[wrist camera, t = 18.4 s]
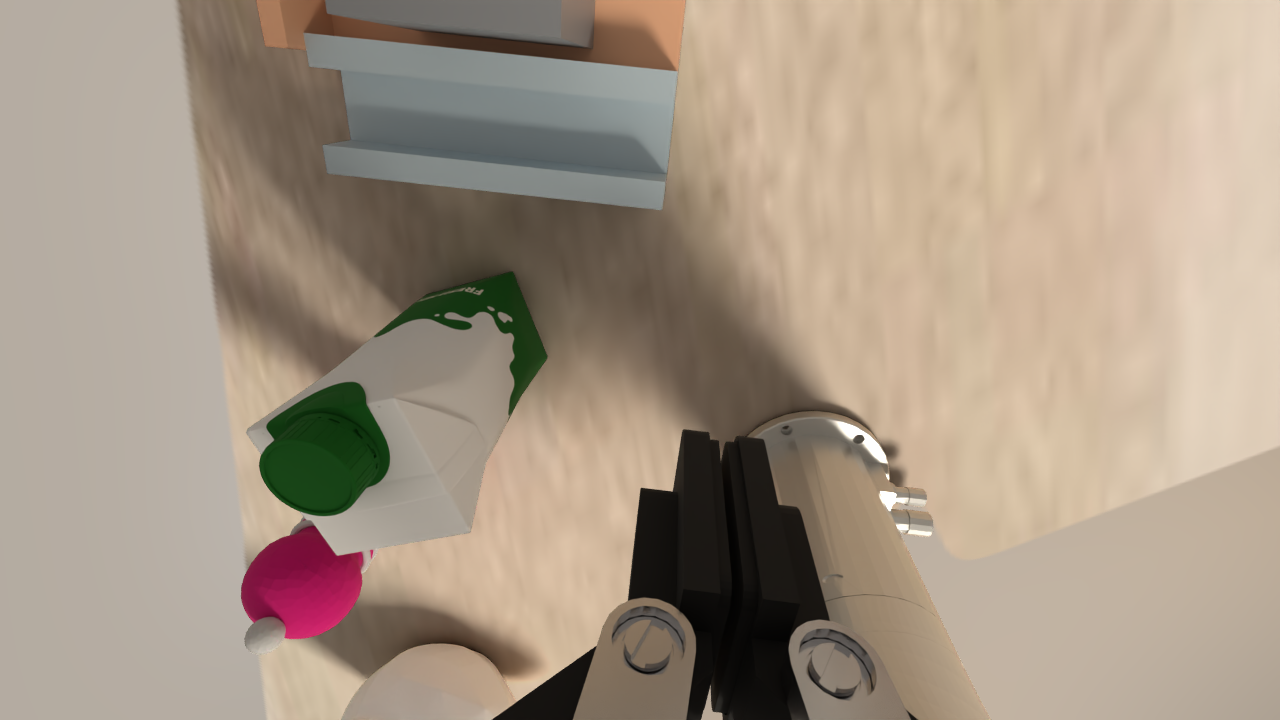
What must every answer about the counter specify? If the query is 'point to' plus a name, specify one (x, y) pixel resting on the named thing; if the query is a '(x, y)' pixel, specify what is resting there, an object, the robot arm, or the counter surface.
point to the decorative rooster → (432, 687)
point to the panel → (482, 18)
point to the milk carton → (405, 420)
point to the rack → (501, 102)
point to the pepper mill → (299, 588)
